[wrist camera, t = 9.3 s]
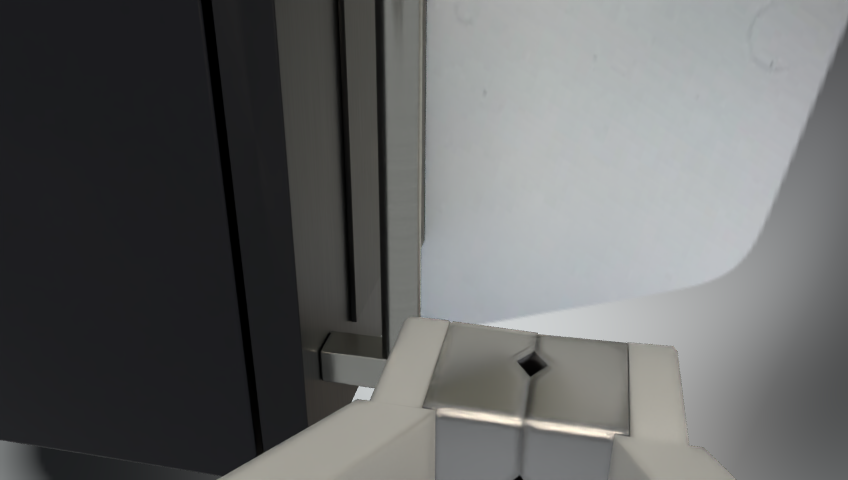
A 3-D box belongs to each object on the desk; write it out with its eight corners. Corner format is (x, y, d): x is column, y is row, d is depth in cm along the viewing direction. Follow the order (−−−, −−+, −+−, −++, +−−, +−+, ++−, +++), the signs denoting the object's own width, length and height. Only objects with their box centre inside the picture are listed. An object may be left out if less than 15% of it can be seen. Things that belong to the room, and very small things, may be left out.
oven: (383, -321, 30) (140, -485, 14) (390, 235, 41) (259, 483, 26) (55, -312, 32) (-456, -444, 17) (146, 210, 44) (-110, 423, 28)
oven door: (511, -325, 29) (401, -499, 14) (483, 246, 40) (405, 504, 25) (388, -321, 30) (153, -482, 14) (394, 237, 41) (265, 481, 26)
